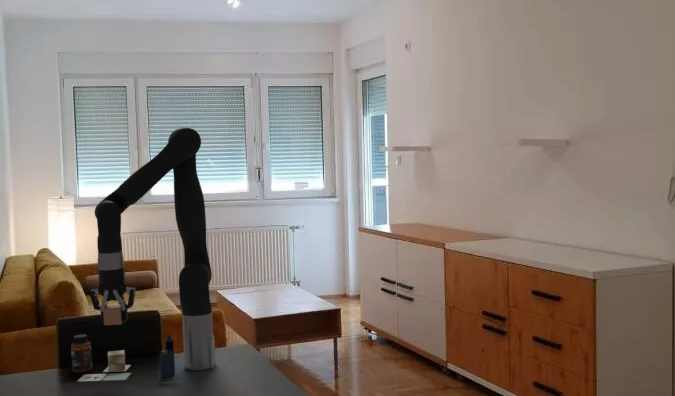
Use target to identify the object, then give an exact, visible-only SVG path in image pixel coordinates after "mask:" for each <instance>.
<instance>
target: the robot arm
mask: <svg viewBox="0 0 675 396" xmlns="http://www.w3.org/2000/svg"><path fill="white" fill-rule="evenodd" d="M201 138H202V137H201V136H200V133H199V132H198V131H197V130H195V129H193V128H192V127H180V128H176V129H174V131H172V132H171V134H169V137H168V141H167V144H166V145H165V146H164V147H163V148H162V150H160V151H159V152H158V154H156V155H155V156H154V157H153V158H151V159H150V160H149V161H148V162H147V163H145V164H143V166H141V167H139V168H138V169H137V170H136V171H134V173H132V174H131V175H130V176H128V178H126V180H124V181H123V182H122V183H121V184H120V185H119V186H117V188H116V189H115V190H114V191H112V192H111V193H109V195H107V196H105V198H103V199H102V200H101V201H100V202H99V203H98V204H97V205H96V207H95V208H94V216H95V218H96V222H97V223H96V224H97V225H96V226H97V233H98V234H97V237H96V239H97V241H96V243H97V245H96V246H97V270H98V271H97V272H98V287H97V288H96V289H91V290H90V291H89V292H88V294H89V297H90V300H91V303H92V306H93V309H94V310H96V311H99V312H100V319H101V322H102V323H103V324H104V316H103V308H105V307H106V306H108V305H109V304H108V303H109V302H111V301H117V305H120V307H121V309H122V311H121V314H122V324H124V323H126V322H127V321H128V317H129V315H128V310H129V309H131V308H132V307H133V306H134V303H135V297H136V292H137V288H136V287H128V285H126V277H125V276H126V273H125V261H124V255H123V254H124V253H123V243H122V241H123V240H122V236H121V235H122V233H121V232H122V231H121V230H122V214H123V213H124V212H125V211H126V210H127V209H128V208H129V207H131V206H133V205H134V204H136V203H137V202H138V201H140V200H141V199H142V198H143V197H144V196H145V195H146V194H147V193H148V192H149V191H150V190H152V188H154V186H156V184H158V183H159V182H160V181H161V180H162V179H163V178H164V177H165V176H166V175H167V174H168V173H169V172H170V171H173V197H174V199H173V200H174V201H173V202H174V210H175V211H174V213H175V214H174V215H175V221H176V222H175V223H176V226H177V230H178V232H179V236H180V239H181V242H182V244H183V245H182V247H183V254H184V255H183V257H184V258H183V259H184V261H183V262H184V263H183V264H184V265H183V267H182V269H181V270H180V272H179V275H178V290H179V291H178V292H179V302H180V303H179V304H180V307H181V315H182V317H181V318H182V319H181V320H182V338H183V339H182V340H183V359H184V360H183V361H184V362H183V363H184V369H185V370H188V371H203V370H204V371H205V370H209V369H210V370H211V369H213V368H214V366H215V364H216V347H215V345H216V343H215V333H213V332H214V330H213V329H214V328H213V326H214V325H213V308H212V306H213V305H212V302H211V299H210V283H211V281H212V279H213V278H212V276H213V273H212V267H211V262H210V257H209V253H208V247H207V245H208V244H207V220H206V219H207V218H206V216H207V215H206V206H205V199H204V193H203V189H202V186H201V183H200V180H199V176H198V171H197V153H198V152H199V150H200V148H201V146H202V139H201ZM126 292H127V295H128V301H127V302H126V299H125V297H124V294H125V293H126ZM99 294H100V295H101V297H102V300H101V304H100V301H99V298H98V296H99Z"/></svg>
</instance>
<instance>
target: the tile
mask: <svg viewBox="0 0 675 396" xmlns="http://www.w3.org/2000/svg"><path fill="white" fill-rule="evenodd" d="M131 366H132V365H131V364H125V370H118V371H109V370H108V366H107V367H106V368H105V369H104V370H103V371H102V372H103V373H112V372H113V373H117V372H119V373H120V372H121V373H122V372H126V371H127V370H128V369H129V368H130V367H131Z"/></svg>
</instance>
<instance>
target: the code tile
mask: <svg viewBox="0 0 675 396" xmlns="http://www.w3.org/2000/svg"><path fill="white" fill-rule="evenodd" d="M106 376H107V373H92V374H91V373H90V374H88V373H87V374H83V375H82V376H81V377H80V378H78V380H77V382H98V381H99V382H101V381H102V380H103V379H104V378H105V377H106Z"/></svg>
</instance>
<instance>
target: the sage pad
mask: <svg viewBox="0 0 675 396" xmlns="http://www.w3.org/2000/svg"><path fill="white" fill-rule="evenodd" d="M131 374H132V372H121V373H120V372H119V373H117V372H113V373H107V374H106V375H105V377H104V378H103V379H102V380H101V381H103V382H104V381H126V380H127V379H128V378H129V376H130V375H131Z"/></svg>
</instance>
